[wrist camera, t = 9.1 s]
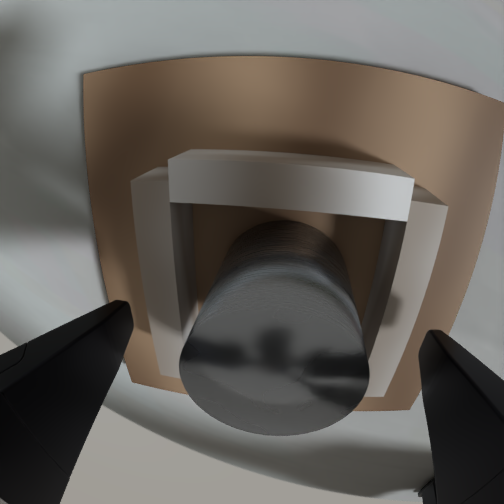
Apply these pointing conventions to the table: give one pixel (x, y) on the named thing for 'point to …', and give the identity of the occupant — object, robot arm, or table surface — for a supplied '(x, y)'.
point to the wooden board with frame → (289, 193)
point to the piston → (278, 335)
